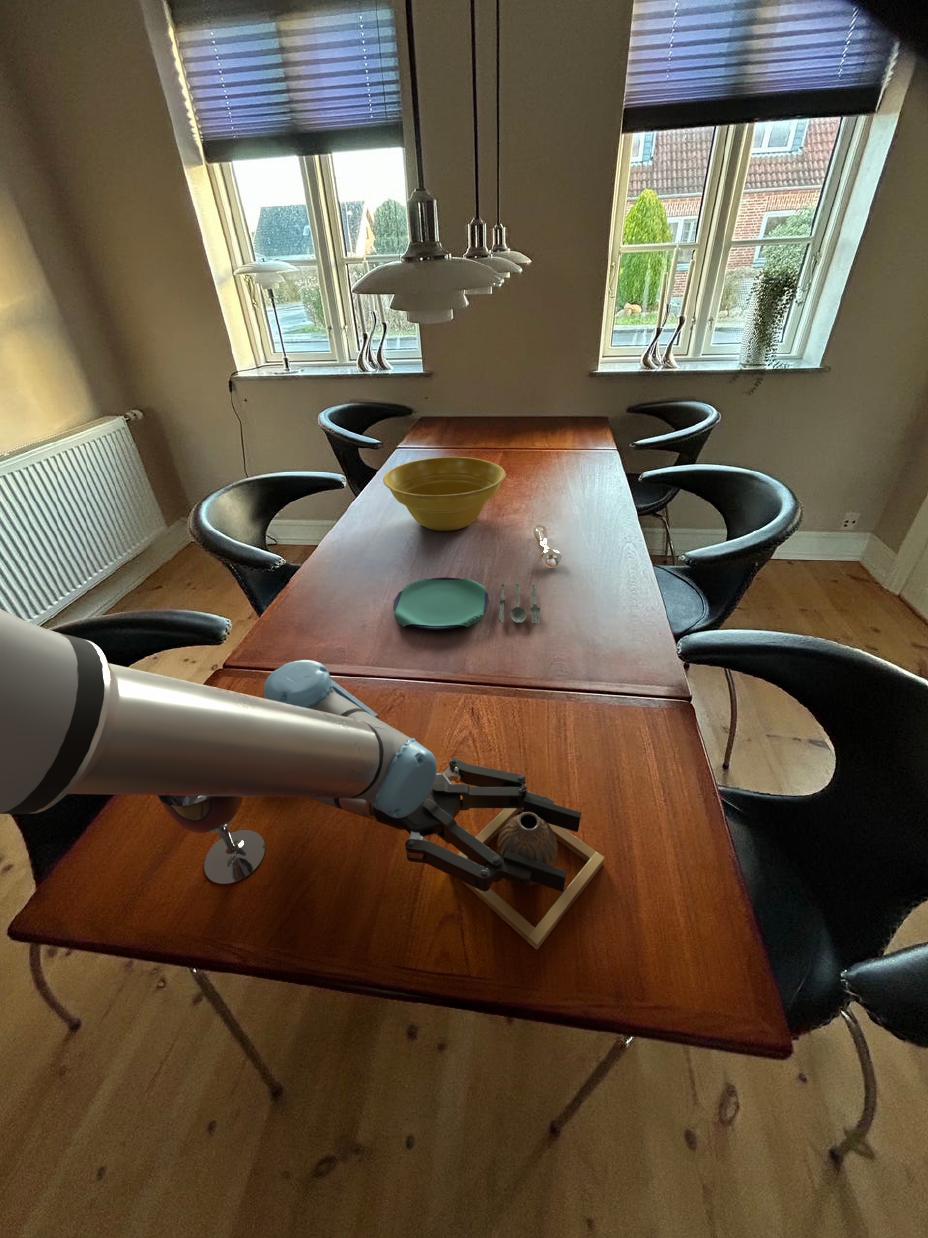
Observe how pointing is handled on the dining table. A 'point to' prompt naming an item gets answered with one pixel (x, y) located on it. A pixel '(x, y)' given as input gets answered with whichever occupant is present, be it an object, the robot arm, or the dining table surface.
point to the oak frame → (565, 900)
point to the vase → (528, 839)
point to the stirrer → (547, 548)
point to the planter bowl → (445, 489)
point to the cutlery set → (451, 604)
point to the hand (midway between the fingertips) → (572, 850)
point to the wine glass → (214, 814)
